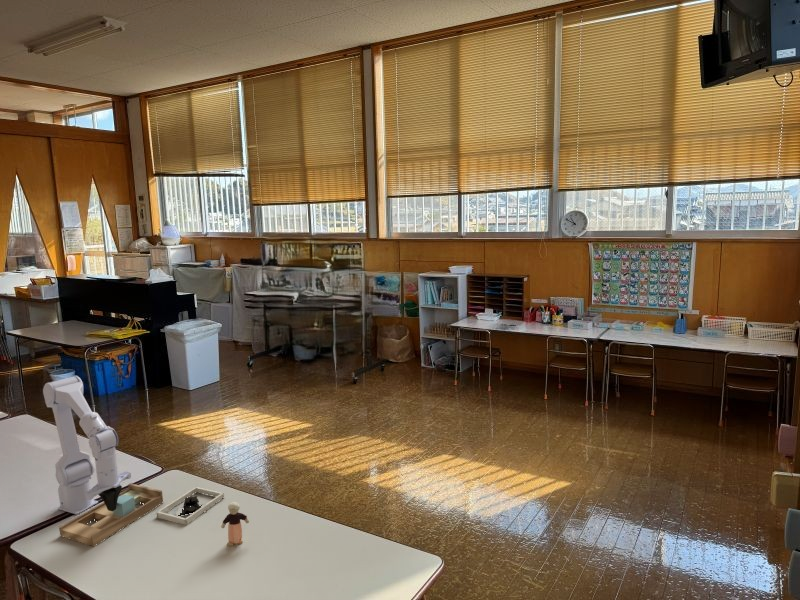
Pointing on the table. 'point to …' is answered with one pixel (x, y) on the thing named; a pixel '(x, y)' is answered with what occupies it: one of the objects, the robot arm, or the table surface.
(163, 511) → the frame
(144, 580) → the table surface
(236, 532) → the grandmother figurine
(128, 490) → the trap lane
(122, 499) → the teal block
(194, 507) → the black angular piece
